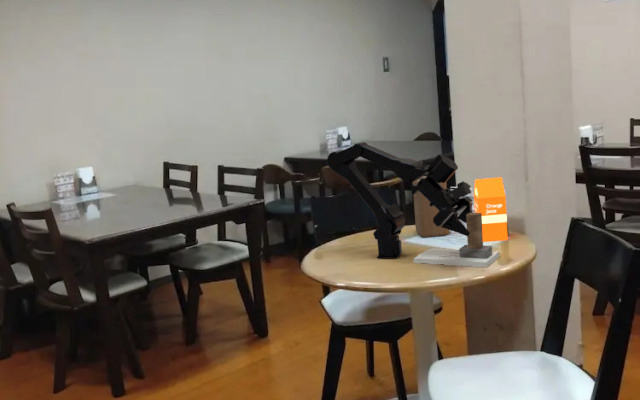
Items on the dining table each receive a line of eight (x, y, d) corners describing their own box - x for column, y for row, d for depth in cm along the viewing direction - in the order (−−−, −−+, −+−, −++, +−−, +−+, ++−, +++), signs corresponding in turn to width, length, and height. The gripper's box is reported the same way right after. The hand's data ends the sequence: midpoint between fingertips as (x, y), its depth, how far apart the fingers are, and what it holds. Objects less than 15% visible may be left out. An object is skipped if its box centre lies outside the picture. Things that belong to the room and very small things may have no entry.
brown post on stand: (459, 257, 194) (457, 215, 192) (465, 252, 199) (463, 211, 197) (486, 258, 190) (484, 215, 188) (492, 254, 194) (490, 212, 192)
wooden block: (415, 232, 239) (411, 177, 236) (443, 229, 240) (439, 174, 236) (421, 238, 229) (417, 180, 226) (450, 235, 230) (446, 177, 227)
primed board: (414, 263, 199) (413, 257, 198) (429, 252, 209) (429, 248, 208) (486, 267, 187) (486, 262, 187) (499, 256, 197) (499, 251, 197)
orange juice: (475, 237, 224) (472, 178, 221) (502, 234, 223) (499, 175, 220) (480, 242, 216) (477, 181, 213) (508, 240, 216) (505, 178, 212)
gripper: (440, 179, 186) (481, 219, 182) (463, 169, 201) (502, 205, 197) (416, 207, 191) (455, 246, 187) (441, 195, 207) (478, 231, 203)
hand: (474, 231), depth 193 cm, fingers open, 9 cm apart
